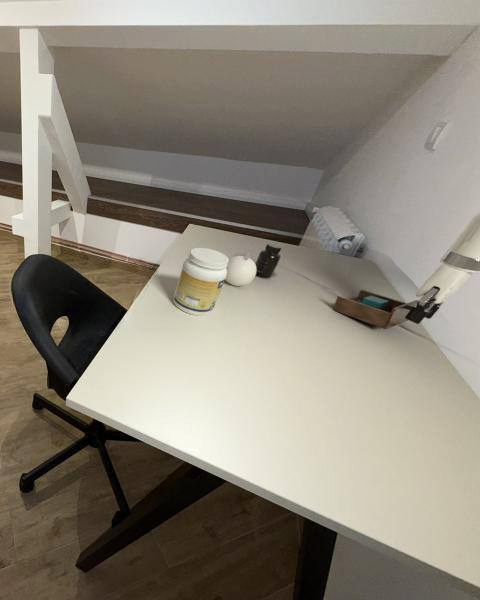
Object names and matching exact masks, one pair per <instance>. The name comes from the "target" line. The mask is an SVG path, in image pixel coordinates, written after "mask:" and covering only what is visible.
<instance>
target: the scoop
mask: <svg viewBox="0 0 480 600" xmlns="http://www.w3.org/2000/svg"><path fill="white" fill-rule="evenodd" d="M369 296H374V297H377V298H380V299H384V300H387V301H389V302H388V304H387V306H386V308H385V310H384V311H382V310H379V309H376V308H373V307H370V306H367V305H364V304H361V303H362V301H363V299H364V298H366V297H369ZM356 299H357V300H358V301H360V302H358V301H357V300H353V299H349V298H346V297H342V296H341V295H337V297H336V300H335V303H334V305H333V308H332V311H335V312H338V313H340V314H342V315H346V316H348V317H351V318H354V319H356V320H357V319H358V320H359V321H362V322H364V323H367V324H370V325H373V326H376V327H379V328H380V329H383V330H388V329H391V328H393V327H395V326H397V325H400V324H403V323H405V322H408V321H409V320H407V319H405V316H406V315H407V314H408V313H409V311H410V310H411V309H412V307H413V306H414V305H415V304H416V303H417V302H418V301H419V299H415V300H412V301H409V302H405V301H400V300H398V299H395V298H390V297H387V296H385V295H380V294H377V293H374V292H372V291H368V290H364V289H360V290H359V293H358V295H357V298H356ZM427 307H428V306H427ZM432 311H433V309H432V308H430V309H429V310H428V311H427V312H429V313H431V312H432ZM429 313H428V314H429Z"/></svg>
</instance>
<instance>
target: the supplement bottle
mask: <svg viewBox="0 0 480 600" xmlns="http://www.w3.org/2000/svg"><path fill="white" fill-rule="evenodd" d="M282 249H283V247H282V245H280V244H278V243H275V242H268V243H266V246H265V248H264V249H262V250H261V251H260V252H259V254H258V256H257V258H256V261H255V262H254V263H255V265H256V269H257V270H256V275H255V277H258V278H261V279H270V278H272V277H273V274H274V273H275V270H276V269H277V266H278V264H279V262H280V260H281V254H280V253H281V250H282Z"/></svg>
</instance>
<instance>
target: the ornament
mask: <svg viewBox="0 0 480 600" xmlns="http://www.w3.org/2000/svg"><path fill="white" fill-rule="evenodd" d="M250 255H251V253H249V252H247V253H246V255H234V256H232V257H230V258H228V259H229V261H228V265H227V267H226V269H227V276H226V278H225V281H226V282H227V283H228V284H229V285H232V286H235V287H243V286H247V285H249V284H250V283H251V282H253V280H254V279H255V277H256V270H257V269H256V265H255V263H256V262H255V261H254V260H253V259H252V258H250Z"/></svg>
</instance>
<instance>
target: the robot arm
mask: <svg viewBox="0 0 480 600" xmlns="http://www.w3.org/2000/svg"><path fill="white" fill-rule="evenodd" d="M439 260H440V265H439V267H438V268H437V269H436V270H435V271H434V272H433V273H431V275H430V276H429V277H428V279H426V281H425V282H424V283H423V285H421V287H420V288H419V289H418V290H417V292H416V293H415V296H416V297H417V298H418V297H421V298H419V299H418V302H417V303H416V304H415V305H414V306H413V307H412V309H411V310H410V311H409V313H408V314H407V315H406V316H405V319H407V320H408V321H410V322H412V323H414V324H416V325H418V324H421V323H422V321H423V320H424V319H425V318H426V319H428V320H429V319H432V318H433V316H434V315H435V314H436V313H437V312H438V310H440V308H441V306H442V305H443V304H444V303H445V301H448V300H450V299H452V297H454V296H455V295H456V294H457V293H458V292H459V291H460V289H461V288H462V287H463V286H464V284H465V283H466V282H467V281H468V280H469V279H470V277H471V276H472V275H473V274H480V211H479V212H477V213H476V214H475V215H474V216H473V217H472V219H471V220H470V221H469V222H468V224H467V225H466V226H465V228H464V229H463V230H462V232H461V233H460V234H459V235H458V237H457V238H456V239H455V240H454V242H453V243H452V244H451V246H450V247H449V248H448V250H447V251H446V252H445V254H444V255H443V256H442V257H441V259H439ZM427 306H428V307H427ZM430 308H432V309H433V311H432V312H431V313H429V312H427V311H428V310H429V309H430ZM428 313H429V314H428Z"/></svg>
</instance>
